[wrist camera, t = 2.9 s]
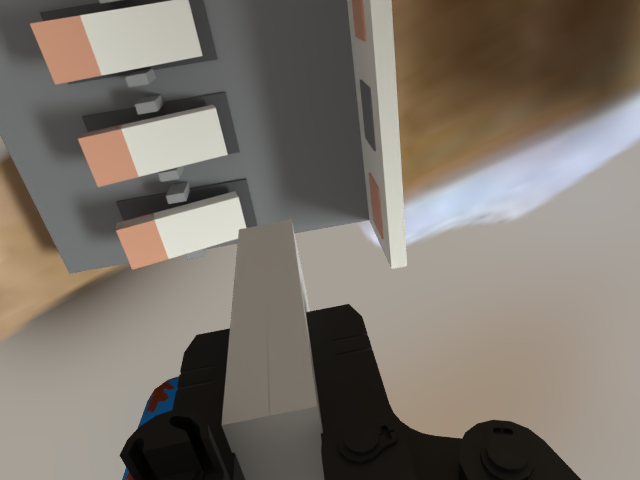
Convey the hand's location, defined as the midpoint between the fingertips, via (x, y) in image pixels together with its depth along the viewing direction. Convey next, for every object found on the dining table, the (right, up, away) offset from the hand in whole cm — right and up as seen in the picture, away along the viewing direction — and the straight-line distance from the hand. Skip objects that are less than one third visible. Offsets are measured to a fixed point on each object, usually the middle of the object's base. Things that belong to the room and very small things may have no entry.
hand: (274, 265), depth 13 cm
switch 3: (-8, +1, +18) cm, 20 cm away
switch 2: (-9, +7, +15) cm, 18 cm away
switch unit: (-7, +10, +20) cm, 23 cm away
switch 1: (-10, +12, +12) cm, 19 cm away
